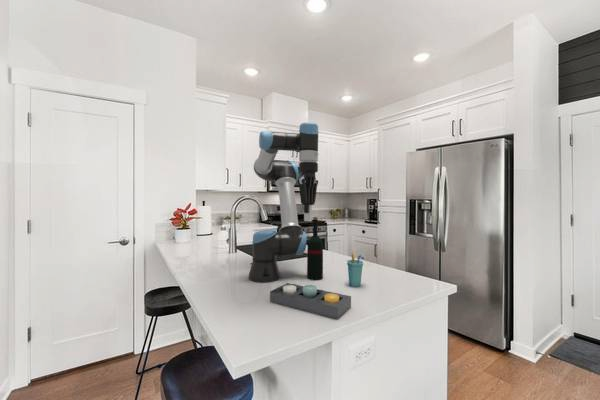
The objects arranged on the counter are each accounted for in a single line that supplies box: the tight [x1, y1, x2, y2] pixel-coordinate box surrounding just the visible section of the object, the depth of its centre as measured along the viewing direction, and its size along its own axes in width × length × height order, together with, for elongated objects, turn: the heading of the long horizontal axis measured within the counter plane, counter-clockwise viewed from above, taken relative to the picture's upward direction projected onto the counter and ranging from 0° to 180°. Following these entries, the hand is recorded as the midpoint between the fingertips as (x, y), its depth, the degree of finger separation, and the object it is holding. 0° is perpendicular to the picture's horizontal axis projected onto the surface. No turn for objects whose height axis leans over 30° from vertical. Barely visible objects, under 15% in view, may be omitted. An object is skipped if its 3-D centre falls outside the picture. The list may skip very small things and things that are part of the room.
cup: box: [346, 252, 365, 288], centre depth 126 cm, size 14×8×15 cm, turn 14°
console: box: [269, 282, 352, 320], centre depth 104 cm, size 28×12×4 cm, turn 59°
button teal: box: [302, 284, 318, 298], centre depth 104 cm, size 5×5×4 cm
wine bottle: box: [306, 216, 324, 281], centre depth 138 cm, size 8×10×30 cm
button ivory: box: [283, 284, 296, 293], centre depth 109 cm, size 5×5×4 cm
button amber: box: [324, 293, 339, 303], centre depth 100 cm, size 5×5×4 cm
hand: (308, 221), depth 112 cm, fingers closed
